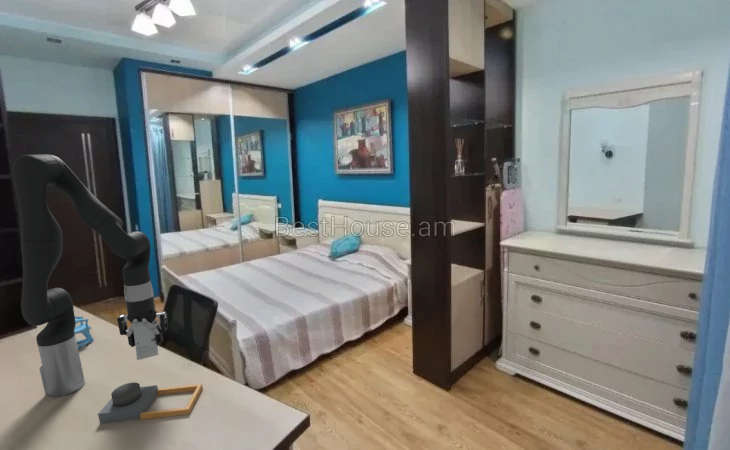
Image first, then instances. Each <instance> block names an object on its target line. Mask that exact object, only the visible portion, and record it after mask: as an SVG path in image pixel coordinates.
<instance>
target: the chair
mask: <svg viewBox="0 0 730 450" xmlns="http://www.w3.org/2000/svg"><path fill="white" fill-rule="evenodd" d="M84 322H85V323H84ZM75 323H76V324H79V323H80V324H79V325H75V329H74V332H75V335H76V334H82V335H83V336H84V337H85V338H83V339H80V340H76V342H77V346H78V350H79V349H81V348H83V347H85V346H86V345H88V344H90V343H93V342H95V339H94V336H92V334H91V333H90V329H92V328H91V326H89V325H88V324H89V318H84V315H83V316H75ZM78 344H79V345H78Z"/></svg>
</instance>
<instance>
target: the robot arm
mask: <svg viewBox="0 0 730 450" xmlns="http://www.w3.org/2000/svg"><path fill="white" fill-rule="evenodd" d="M12 178H13V183H14V189H15V193H16V199H17V204H18V212H19V214H18V216H19V223H20V243H21V244H20V246H21V248H20V249H21V256H22V287H21V288H22V289H21V299H20V301H21V303H20V307H21V314H22V317H23V320H24V321H26V323H28V325H31V326H35V327H37V326H42V325H45V327H43V329H42V330H41V331H39V333H37V335H36V337H35V338H36V345H37V348H38V353H39V357H40V361H41V362H40V363H41V366H40V367H39V374H40V376H41V377H40V378H41V382H42V385H43V390H44V393H45V394H44V395H45V396H50V397H53V398H56V397H62V396H67V395H69V394H72V393H74V392H76V391H78V390H80V389H81V388H83V386H84V385H85V383H86V380H85V375H84V371H83V367H82V361H81V356H80V352H79V349H78V346H79V345H78V344H77V342H76V341H77V338H76V334H75V332H74V329H75V327H76V326H77V325H76V323H75V320H76V319H75V317H76V315H75V309H74V308H75V307H74V303H73V299H72V297H71V295H70V294H69V292H68V291H67V290H66V289H64V288H62V287H54V288H50V289H48V285H49V281H50V277H51V275H52V273H53V271H54V269H55V268H56V266H57V264H58V263H59V262H60V259H61V257H62V254H63V250H64V249H63V248H64V247H63V246H64V245H63V243H64V242H63V241H64V240H63V231H62V228H61V226H60V224H59V222H58V221H57V219H56V218H55V216H54V215H53V214H52V211H50V209H49V206H48V202H47V200H48V198H47V188H48V187H54V188H55V189H57V190H58V191H60V192H62V194H64V195H65V197H67V198H68V199H69V200H70V203H72V206H73V208H74V210H75V212H76V213H77V215H78V217H79V218H80V220H81V221H83V222H84V223H85V225H87V226H88V227H90V228H91V229H92V230H93V231H94V232H95V233H97V234H98V235H99V236H101V239H102V240H103V242H104V243H105V244H106V246H107V247H108V248H109V249H110V251H111V252H112V253H114V254H115V255H116V256H117V257H119V258H121V259H127V262H126V264H125V265H124V266H123V267H122V269H121V270H122V279H123V287H124V289H123V293H124V298H125V306H126V312H127V314H124V313H123V314H121V315H119V316H118V317H117V319H116V321H117V325H118V330H119V335H121V336H126V337H127V341H128V346H130V347H131V348H135V340H134V330H133V323H137V322H138V321H143V322H144V323H145V324H146V325H147V326H148V327H149V328H150V329H151V330H153V331H154V332H155V333H156V334H155V338H156V345H157V346H160V344H162V342H163V340H164V335H163V333H165V332H166V331H167V330H168V328H169V322H168V321H169V320H168V312H167V311H163V312H158V311H156V304H155V296H154V295H155V294H154V289H153V284H152V281H151V273H150V269H149V267H150V265H149V264H150V259H151V258H150V257H151V241H150V240H149V237H148V236H147V235H146V234H145V233H144V232H142V231H139V230H138V231H132V232H129V233H127V232H126V231H125V230H124V229H123V228H122V227H123V225H124V222H123V220H122V219H121V218H120V217H119V216H118V215H117V214H116V213H114V212H113V211H112V210H111V209H109V208H108V207H107V206H106V205H105V204H104V203H102V202H101V200H99V199H98V198H97V197H96V196H95V195H94V194H93V193H92V192H91V191H90V190H89V189H88V187H86V185H85V184H84V183H83V182H82V181H81V180H80V178H78V176H77V175H76V174H75V173H74V171H72V170H71V167H69V166H68V165H67V164H66V163H65V162H64V161H63V160H62V159H61V158H60V157H58V156H56V155H53V154H48V153H44V154H43V153H42V154H41V153H40V154H24V155H20V156H19V157H17V158H16V159H15V160H14V162H13V165H12ZM154 319H155V325H153V324H152V322H153V321H154ZM157 319H158V320H157ZM127 321H129V322H130V323H131V324H130V326H129V328H128V322H127ZM158 321H159V322H158Z"/></svg>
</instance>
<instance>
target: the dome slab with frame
mask: <svg viewBox="0 0 730 450" xmlns="http://www.w3.org/2000/svg"><path fill="white" fill-rule="evenodd" d="M202 390H203V383H197V384H188V385H187V384H186V385H179V386H171V387H161V388H158V385H157V384H156V385H155V384H154V385H147V386H140V383H138V382H128V383H125V384H124V383H123V384H122V385H119V386H117V387H116V388H114V390H113V391H112V392H111V395H110V396H111V398H110V399H109V400H108V402H107V403H106V404H105V406H103V407H102V409H101V410H100V411H99V412H98V413H97V415H98V420H99V421H98V422H99V424H107V423H114V422H115V423H116V422H124V421H125V422H126V421H131V420H132V421H133V420H141V421H142V420H149V419H150V420H151V419H157V418H158V419H159V418H167V417H174V416H176V417H177V416H182V415H189V414H190V413H191V411H192V410H193V408H194V406H195V404H196V401H197V400H198V398H199V396H200V394H201V392H202ZM187 392H193V394H192V395H191V397H190V399H189V402H188V403H187V405H186V406H185V407H178V408H168V409H161V410H152V411H149V409H150V407H151V406H152V404H153V403H154V402H155V400H156V399H157V397H158V396H161V395H170V394H177V393H187Z"/></svg>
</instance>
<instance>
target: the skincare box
mask: <svg viewBox="0 0 730 450" xmlns="http://www.w3.org/2000/svg"><path fill="white" fill-rule="evenodd" d="M152 324H153V325H155V319H154V321H153V322H152ZM133 330H134V340H135V346H134V348H135V353H136V360H137V361H140V360H144V359H148V358H151V357H156V356H158V355H159V347H158V346H159V345H156V338H155V334H156V333H155V332H154V331H153V330H151V329H150V328H149V327H148V326H147V325H146V324H145V323H144V322H143V321H138V322H137V323H133Z"/></svg>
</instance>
